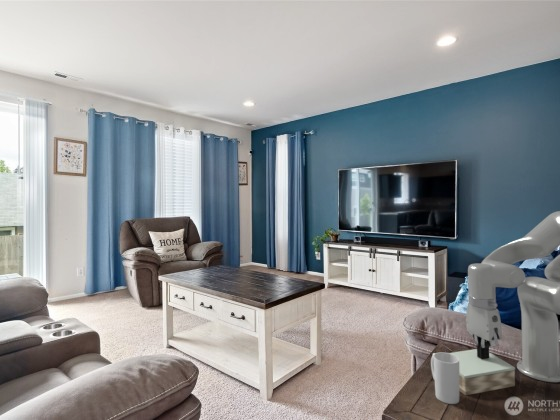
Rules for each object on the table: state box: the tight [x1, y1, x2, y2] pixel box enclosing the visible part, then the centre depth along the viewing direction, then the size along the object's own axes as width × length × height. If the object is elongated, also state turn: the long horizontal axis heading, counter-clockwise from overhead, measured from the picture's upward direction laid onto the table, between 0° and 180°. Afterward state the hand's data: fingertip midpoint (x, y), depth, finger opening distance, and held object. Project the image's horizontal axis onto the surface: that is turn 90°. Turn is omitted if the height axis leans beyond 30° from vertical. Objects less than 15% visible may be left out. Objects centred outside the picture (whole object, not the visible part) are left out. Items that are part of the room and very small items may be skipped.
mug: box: [430, 351, 460, 405], centre depth 97 cm, size 10×7×12 cm, turn 12°
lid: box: [448, 348, 516, 379], centre depth 104 cm, size 18×12×1 cm
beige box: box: [459, 370, 516, 396], centre depth 104 cm, size 18×13×5 cm
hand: (483, 357), depth 106 cm, fingers closed
